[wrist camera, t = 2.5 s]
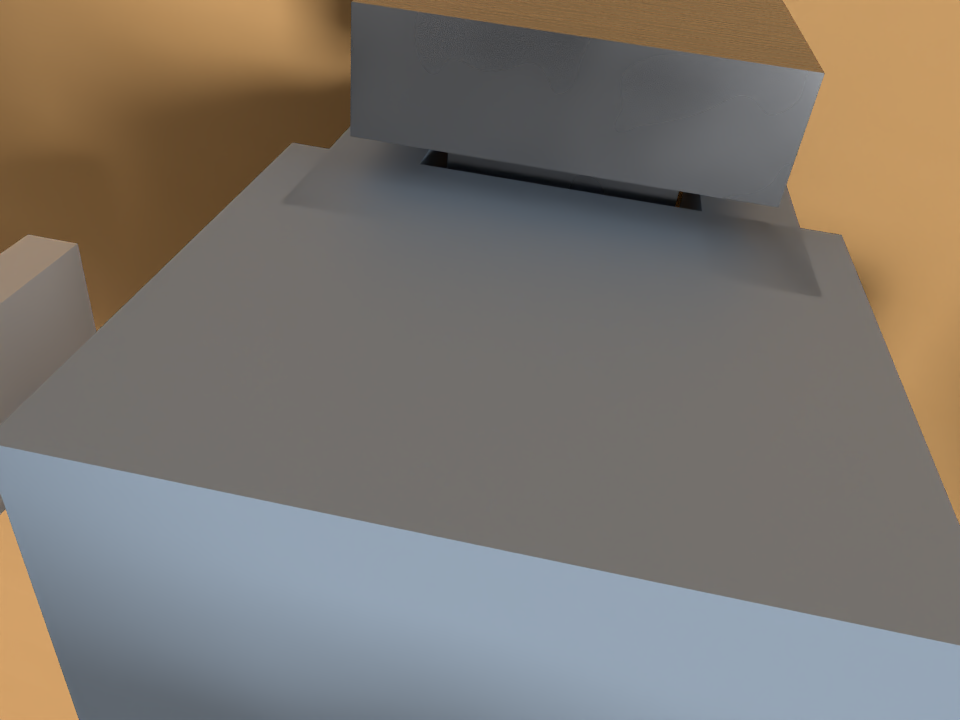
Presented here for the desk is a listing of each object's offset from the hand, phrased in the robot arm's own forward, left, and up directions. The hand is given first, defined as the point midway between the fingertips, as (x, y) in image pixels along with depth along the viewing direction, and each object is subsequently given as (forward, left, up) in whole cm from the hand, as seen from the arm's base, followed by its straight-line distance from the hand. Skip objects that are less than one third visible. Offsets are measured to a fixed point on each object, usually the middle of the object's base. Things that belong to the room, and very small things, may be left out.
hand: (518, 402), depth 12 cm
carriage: (0, 0, -4) cm, 4 cm away
